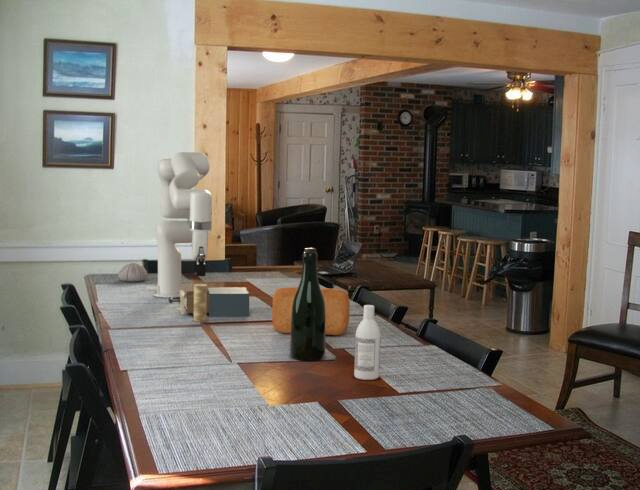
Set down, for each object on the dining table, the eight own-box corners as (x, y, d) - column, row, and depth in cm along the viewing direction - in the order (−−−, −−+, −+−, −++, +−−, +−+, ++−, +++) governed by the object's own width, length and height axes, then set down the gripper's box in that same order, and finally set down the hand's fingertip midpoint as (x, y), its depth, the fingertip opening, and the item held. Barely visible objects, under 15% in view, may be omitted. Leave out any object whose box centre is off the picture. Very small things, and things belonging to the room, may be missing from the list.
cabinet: (209, 316, 295) (209, 293, 294) (207, 309, 309) (207, 287, 308) (249, 316, 299) (249, 293, 298) (245, 308, 313) (245, 287, 312)
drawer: (169, 314, 292) (169, 296, 291) (168, 307, 305) (168, 290, 304) (218, 313, 296) (218, 295, 296) (215, 307, 309) (216, 289, 308)
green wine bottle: (310, 363, 233) (313, 250, 228) (282, 357, 239) (285, 247, 234) (331, 356, 242) (335, 248, 237) (304, 351, 247) (306, 245, 243)
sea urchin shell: (143, 283, 366) (143, 265, 365) (113, 282, 366) (113, 264, 365) (151, 278, 379) (151, 262, 378) (122, 277, 379) (122, 261, 378)
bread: (348, 290, 266) (354, 286, 284) (271, 287, 269) (281, 283, 286) (347, 336, 267) (353, 330, 285) (270, 333, 270) (280, 326, 287)
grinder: (193, 322, 285) (194, 286, 283) (193, 319, 290) (193, 283, 288) (206, 321, 286) (207, 285, 284) (206, 319, 291) (206, 283, 289)
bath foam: (365, 372, 225) (367, 302, 222) (384, 377, 221) (387, 306, 218) (348, 377, 220) (351, 305, 217) (368, 382, 215) (370, 309, 213)
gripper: (188, 223, 291) (188, 270, 293) (190, 228, 274) (190, 278, 277) (209, 223, 293) (209, 270, 295) (213, 229, 276) (212, 278, 279)
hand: (200, 273), depth 286 cm, fingers open, 9 cm apart
